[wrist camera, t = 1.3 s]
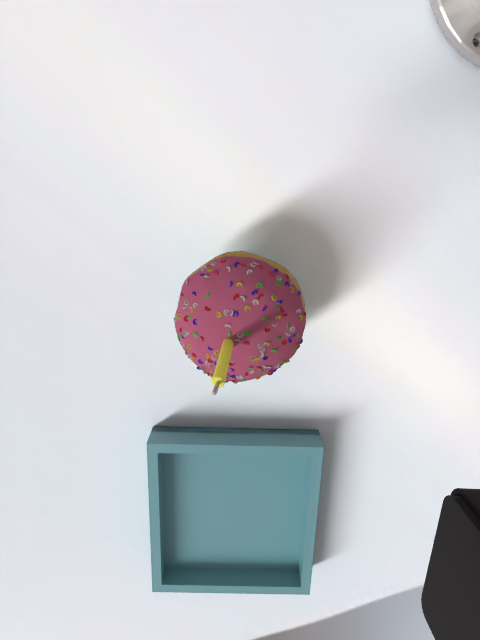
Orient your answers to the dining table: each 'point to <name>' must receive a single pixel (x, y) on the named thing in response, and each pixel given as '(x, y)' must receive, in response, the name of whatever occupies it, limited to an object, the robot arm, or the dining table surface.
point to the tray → (233, 509)
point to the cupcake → (240, 317)
